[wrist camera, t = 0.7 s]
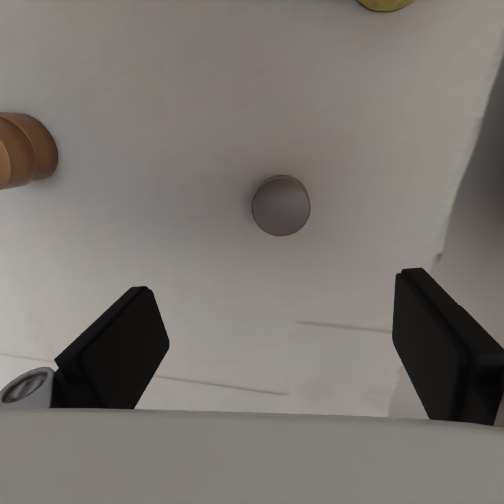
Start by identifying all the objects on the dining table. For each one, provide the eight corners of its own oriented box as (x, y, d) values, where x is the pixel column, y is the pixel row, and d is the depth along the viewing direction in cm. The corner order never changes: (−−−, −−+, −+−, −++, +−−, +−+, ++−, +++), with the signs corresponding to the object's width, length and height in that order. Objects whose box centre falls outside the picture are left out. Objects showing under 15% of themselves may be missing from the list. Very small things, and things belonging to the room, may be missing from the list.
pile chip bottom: (11, 98, 25) (-17, 95, 23) (67, 144, 26) (45, 145, 24) (-7, 150, 27) (-34, 151, 25) (45, 190, 28) (23, 195, 26)
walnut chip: (280, 163, 24) (279, 166, 22) (320, 200, 25) (322, 207, 22) (244, 203, 26) (240, 210, 23) (282, 237, 27) (281, 247, 24)
